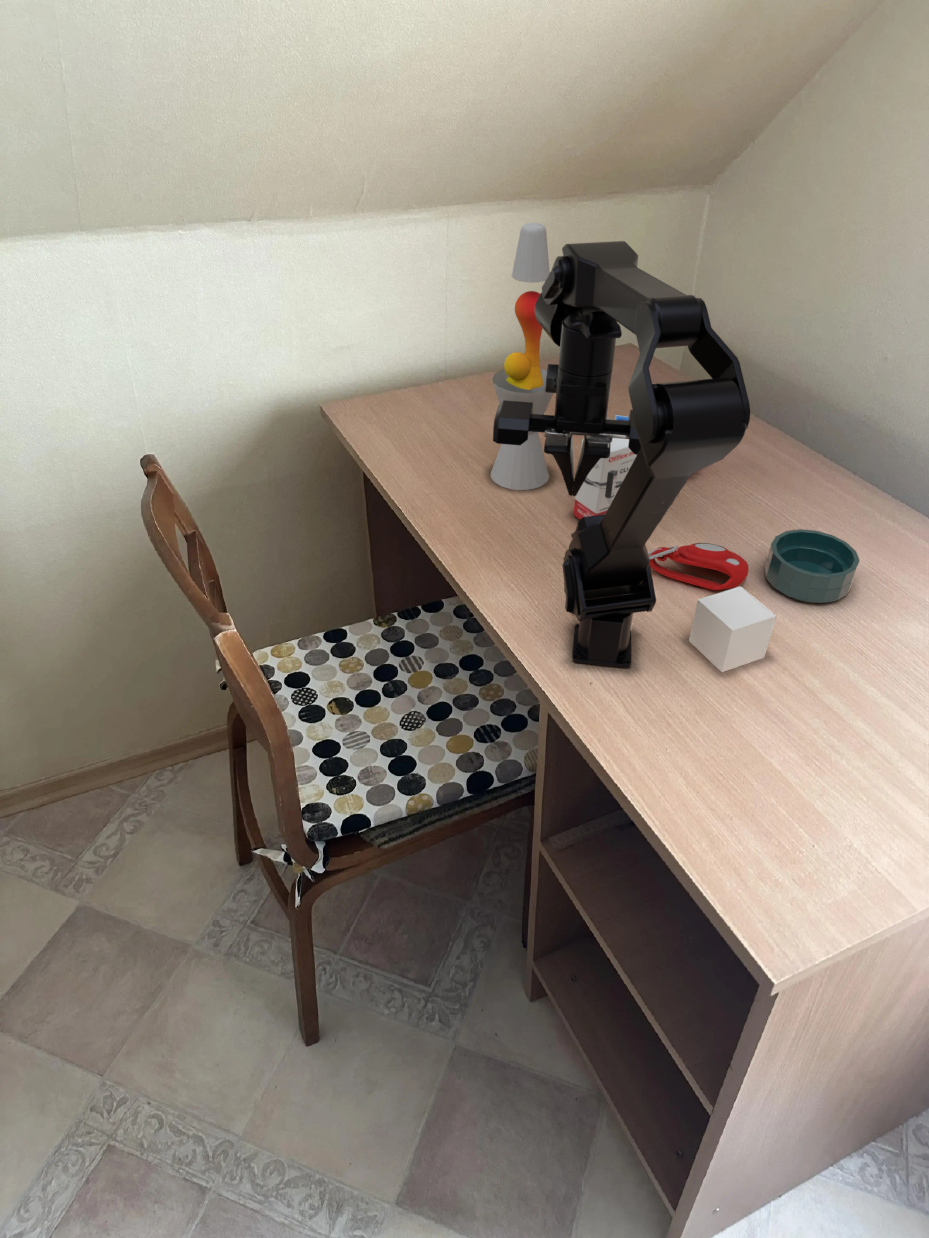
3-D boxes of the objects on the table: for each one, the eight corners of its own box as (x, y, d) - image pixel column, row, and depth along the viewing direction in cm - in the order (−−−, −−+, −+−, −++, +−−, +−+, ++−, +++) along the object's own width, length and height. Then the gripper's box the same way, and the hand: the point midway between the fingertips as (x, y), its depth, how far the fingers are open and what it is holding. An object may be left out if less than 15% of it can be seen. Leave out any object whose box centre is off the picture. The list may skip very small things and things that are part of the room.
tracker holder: (708, 534, 118) (767, 555, 110) (702, 567, 120) (760, 589, 112) (639, 539, 112) (697, 561, 104) (634, 573, 113) (690, 598, 105)
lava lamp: (526, 455, 137) (541, 212, 116) (562, 480, 131) (585, 229, 110) (477, 470, 133) (483, 221, 112) (512, 496, 127) (525, 239, 106)
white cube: (721, 672, 98) (732, 630, 95) (688, 641, 103) (697, 599, 99) (764, 657, 101) (776, 615, 97) (730, 627, 105) (740, 585, 101)
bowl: (855, 610, 108) (866, 580, 105) (768, 602, 109) (777, 571, 106) (840, 562, 116) (850, 533, 113) (759, 555, 117) (767, 526, 114)
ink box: (594, 531, 121) (604, 452, 113) (571, 515, 124) (579, 437, 116) (642, 513, 124) (654, 436, 117) (618, 498, 128) (629, 422, 120)
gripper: (671, 344, 100) (651, 467, 110) (506, 333, 102) (501, 455, 112) (675, 384, 92) (653, 514, 101) (494, 371, 94) (490, 501, 103)
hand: (572, 494), depth 105 cm, fingers closed
